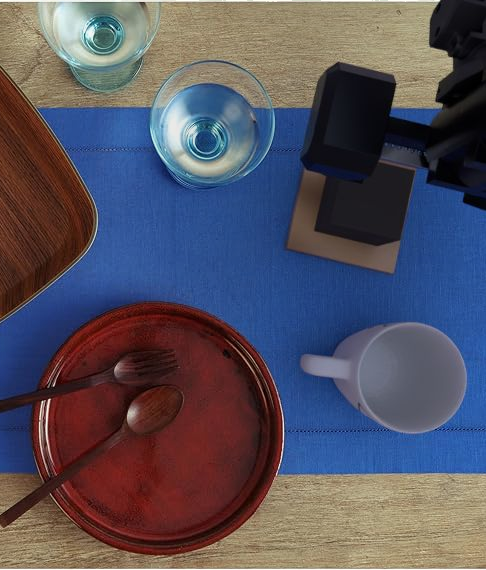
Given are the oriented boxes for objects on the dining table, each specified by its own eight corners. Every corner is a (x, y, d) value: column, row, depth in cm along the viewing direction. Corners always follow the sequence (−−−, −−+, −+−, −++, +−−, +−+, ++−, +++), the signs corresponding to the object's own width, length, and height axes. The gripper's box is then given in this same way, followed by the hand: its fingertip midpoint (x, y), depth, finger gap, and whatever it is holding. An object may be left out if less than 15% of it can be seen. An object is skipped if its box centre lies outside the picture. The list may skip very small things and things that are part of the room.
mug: (280, 404, 56) (311, 424, 46) (289, 312, 57) (322, 311, 47) (405, 418, 56) (463, 440, 46) (413, 325, 57) (472, 327, 47)
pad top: (335, 161, 54) (345, 153, 51) (402, 177, 54) (415, 170, 51) (320, 227, 53) (329, 223, 51) (388, 243, 53) (400, 240, 51)
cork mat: (307, 145, 57) (310, 141, 56) (412, 170, 57) (417, 167, 56) (284, 249, 57) (286, 248, 56) (389, 274, 57) (394, 274, 56)
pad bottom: (328, 167, 56) (336, 160, 54) (391, 182, 56) (403, 176, 54) (313, 231, 56) (321, 227, 53) (377, 246, 56) (389, 243, 53)
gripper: (764, -4, 30) (550, 106, 46) (392, -94, 30) (304, 46, 46) (723, 218, 29) (519, 252, 45) (343, 126, 29) (271, 192, 45)
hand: (404, 181), depth 45 cm, fingers open, 9 cm apart
